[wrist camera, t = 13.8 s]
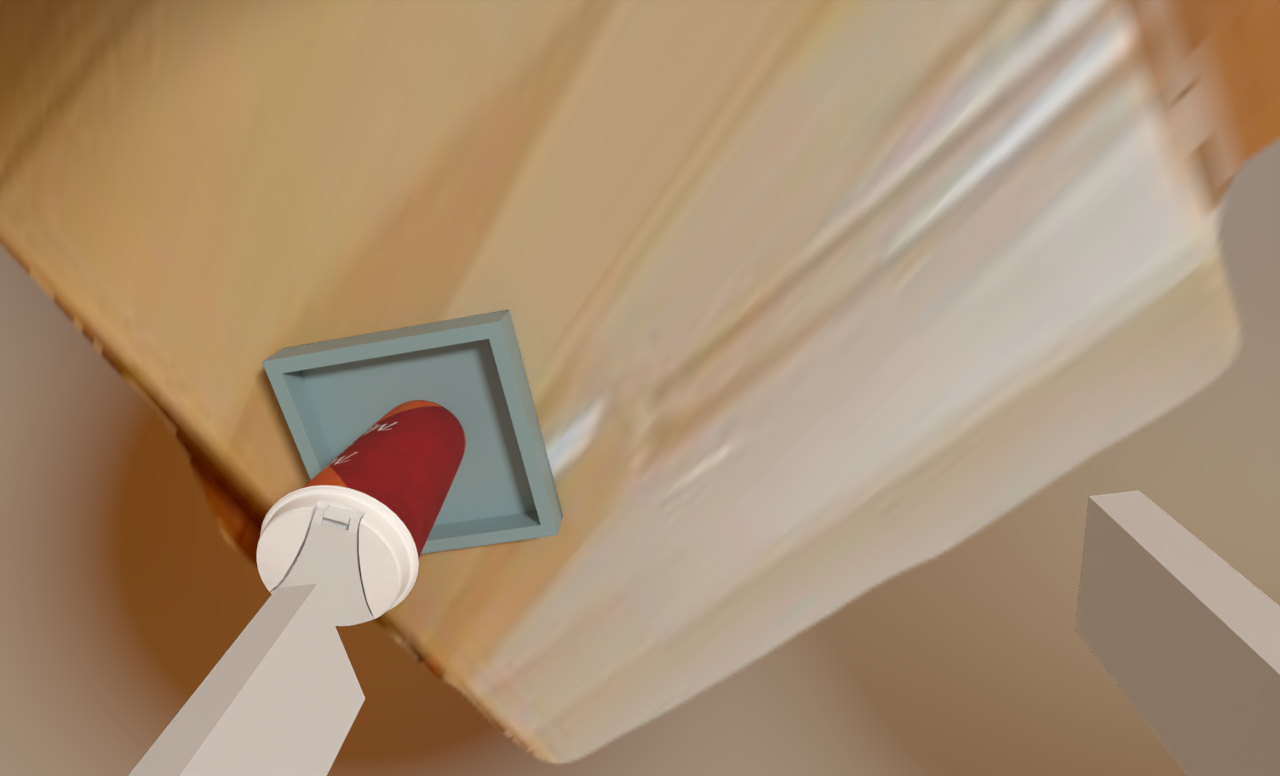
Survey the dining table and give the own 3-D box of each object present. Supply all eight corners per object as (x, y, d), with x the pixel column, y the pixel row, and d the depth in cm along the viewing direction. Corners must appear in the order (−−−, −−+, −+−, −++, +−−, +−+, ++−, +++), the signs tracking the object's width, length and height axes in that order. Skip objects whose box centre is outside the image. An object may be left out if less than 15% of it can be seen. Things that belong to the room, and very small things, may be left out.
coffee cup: (375, 369, 46) (251, 480, 33) (493, 403, 47) (422, 526, 33) (358, 473, 50) (239, 614, 36) (469, 503, 50) (394, 654, 36)
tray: (282, 348, 47) (261, 361, 44) (509, 309, 45) (500, 321, 43) (359, 543, 53) (345, 564, 50) (562, 514, 51) (557, 535, 49)
